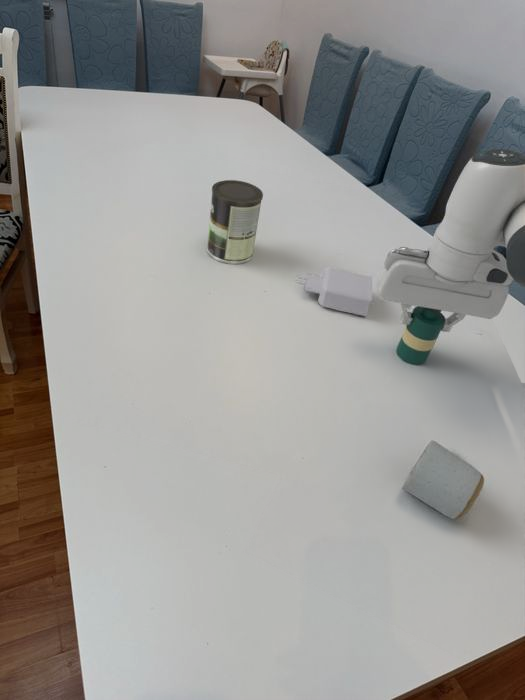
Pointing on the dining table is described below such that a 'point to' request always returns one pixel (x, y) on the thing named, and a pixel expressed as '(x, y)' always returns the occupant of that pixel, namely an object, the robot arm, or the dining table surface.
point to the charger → (341, 290)
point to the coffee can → (233, 221)
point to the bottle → (420, 335)
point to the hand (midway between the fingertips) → (424, 326)
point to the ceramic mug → (444, 481)
